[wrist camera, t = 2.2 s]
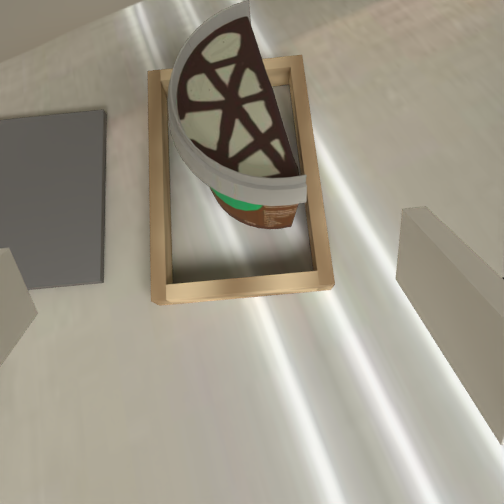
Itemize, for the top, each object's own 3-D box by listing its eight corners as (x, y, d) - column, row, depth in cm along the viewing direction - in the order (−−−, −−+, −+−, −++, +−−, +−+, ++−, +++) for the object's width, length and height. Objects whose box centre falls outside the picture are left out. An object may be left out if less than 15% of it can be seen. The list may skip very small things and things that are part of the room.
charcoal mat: (106, 114, 33) (103, 109, 32) (103, 282, 29) (100, 281, 28) (-39, 128, 33) (-44, 124, 32) (-61, 298, 29) (-68, 296, 28)
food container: (179, 122, 32) (140, 18, 22) (253, 103, 32) (246, -8, 23) (214, 267, 29) (185, 217, 19) (297, 245, 29) (310, 185, 19)
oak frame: (300, 73, 33) (302, 54, 31) (330, 289, 28) (334, 284, 26) (154, 88, 33) (147, 71, 31) (159, 305, 28) (151, 301, 26)
